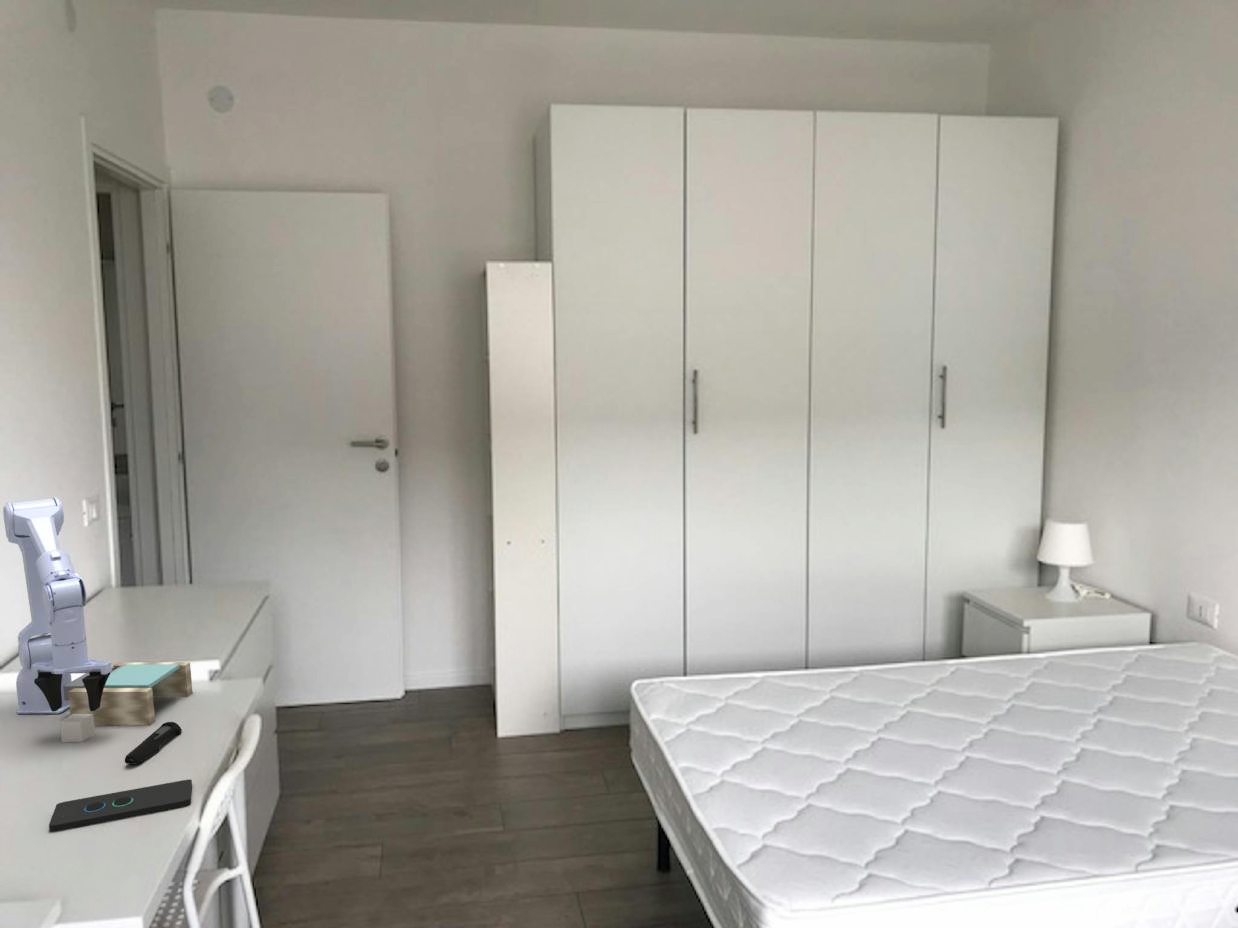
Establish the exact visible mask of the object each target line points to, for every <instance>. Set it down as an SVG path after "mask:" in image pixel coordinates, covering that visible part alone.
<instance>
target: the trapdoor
mask: <svg viewBox="0 0 1238 928" xmlns="http://www.w3.org/2000/svg"><path fill="white" fill-rule="evenodd" d="M179 668H180V665H179V664H153V665H126V664H124V665H122V666H120V667H119V668H117V669H115V668H114V667H113V666H112V671H111V672H110V675H109V677H108V679H107V681H106V684H105V686H104V688H151V687H152V686H154V685H155V684H157V683H158V682H160V681H161V680H163V679H164V678H166V677H167V676H169V675H170V674H172V673H173V672H175V671H176V670H177V669H179ZM88 675H89V673H83V674H82V675H80V676H79V677H77V678H75V679H74V680H72V682H70V683H68V684H66V685H65V686H63V689H64V699H65V700H69V695H68V692H69V691H70V690H72V689H74V688H85V685H84V683H83V681H82V679H83V678H85V677H86V676H88Z"/></svg>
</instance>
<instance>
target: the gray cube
mask: <svg viewBox="0 0 1238 928" xmlns="http://www.w3.org/2000/svg"><path fill="white" fill-rule="evenodd" d="M59 726H60V727H59V728H60V736H61V742H62V743H63V742H64V743H74V742H75V743H76V742H79V743H81V742H82V743H83V742H85V740H87V739H88V738H90V737H91V736H93V735H94V734H95V733H96V730H95V725H94V718H93V714H72V715H71V716H70V715H68V716H67V717H65V719H63V720H61V721H60V722H59Z"/></svg>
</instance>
